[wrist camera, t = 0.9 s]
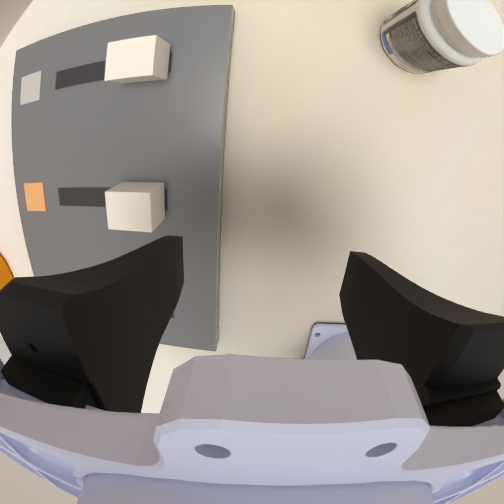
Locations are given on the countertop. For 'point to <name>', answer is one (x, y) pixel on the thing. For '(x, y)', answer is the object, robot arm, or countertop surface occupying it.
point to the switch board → (126, 150)
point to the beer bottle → (4, 273)
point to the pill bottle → (442, 34)
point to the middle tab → (135, 206)
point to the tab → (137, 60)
